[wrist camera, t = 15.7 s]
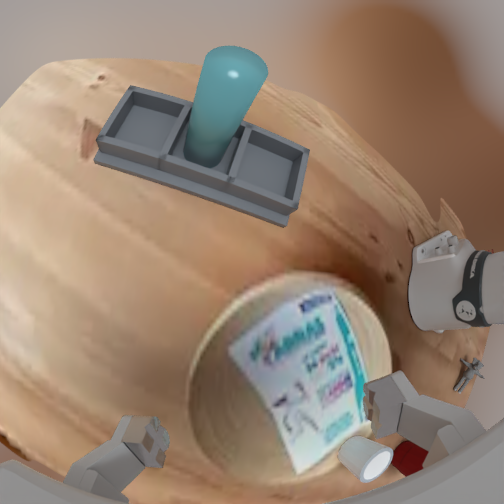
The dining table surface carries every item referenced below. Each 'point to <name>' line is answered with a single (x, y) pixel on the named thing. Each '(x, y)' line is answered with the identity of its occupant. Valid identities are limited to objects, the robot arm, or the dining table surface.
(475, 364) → the grey humanoid figurine
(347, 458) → the shot glass
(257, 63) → the teal cylinder
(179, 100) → the cup rack
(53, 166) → the dining table surface
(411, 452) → the plastic cup
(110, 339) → the dining table surface
